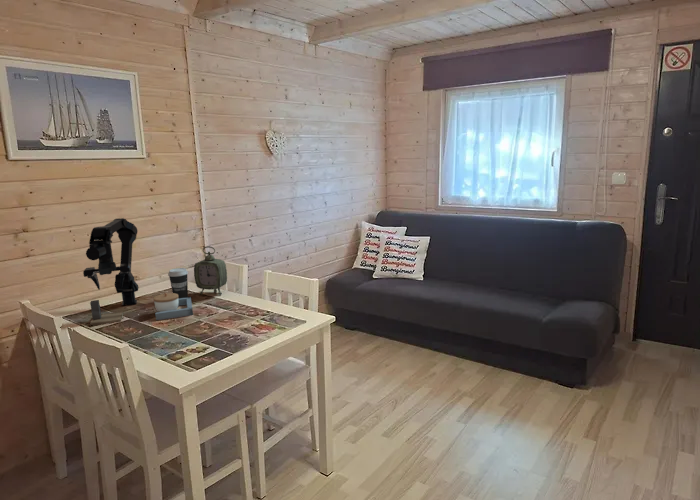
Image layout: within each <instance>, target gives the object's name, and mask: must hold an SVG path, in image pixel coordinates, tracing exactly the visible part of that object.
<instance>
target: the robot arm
mask: <svg viewBox="0 0 700 500" xmlns="http://www.w3.org/2000/svg"><path fill="white" fill-rule="evenodd" d="M138 231H139V230H138V228H137V227H136V225H135V224H134V223H132V222H131V221H128V220H127V219H126V218H124V217H123V218H120V217H119V218H115V219H113V220H112V221H110V222H109V223H107V224H105V225H102V226H96V227H95V226H94V227H93V228H92V230H91V232H90V235H89V236H90V237H89V242H88V244H89V245H88V246H89V247H88V248H87V249H86V251H85V256H86V258H87V259H89V260H90V261H98V264H97V265H98V266H97V267H98V268H95V266H92V267H91V266H90V267H86V268H84V270H83V271H82V274H83V277H85V278H87V279H90V280H92V281H93V283H94V284H95V286H96V288H97V289H98V290H99V291H100V289H101V285H100V282H99V281H100V280H99V277H98V274H99V275H100V276H103V275H104V276H105V275H111V274H112V272H117V271H119V272H118V274H115V277H114V278H115V279H114V280H115V281H114V289H115V290H116V293H117V294H121V297H122V303H121V306H122V305H125V306H132V305H136V304H137V302H138V299H136V294H135V293H136V292H138V291H139V284H138V283H137V282H136V281H135V276H134V275H133V272H132V258H133V257H132V255H133V243H134V242H135V240H136V239H137V235H138ZM114 233H117V236H118V237H117V238H118V239H119V241H120V243H121V250H120V266H117V264H116V262H114V256H113V251H112V243H113V240H111V239H112V238H113V236H114Z"/></svg>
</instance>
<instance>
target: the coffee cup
mask: <svg viewBox="0 0 700 500" xmlns="http://www.w3.org/2000/svg"><path fill="white" fill-rule="evenodd" d="M188 274H189V271H188V270H187V268H184V267H178V268H177V267H176V268H172V269H169V271H168V273H167V276H168V277H169V278H168V279H169V282H170V286H171V291H172V293H176V294H178V296H179V297H178V298H179V299H180V298H187V297H189V295H188V294H189V292H188V291H189V289H188V288H189V287H188V286H189V285H188Z"/></svg>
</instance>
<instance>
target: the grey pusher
mask: <svg viewBox="0 0 700 500" xmlns="http://www.w3.org/2000/svg"><path fill="white" fill-rule="evenodd" d="M99 300H100V299H94V300H90V303H89V304H90V309H91V310H90V311H91V316H92V318H91V321H90V323H89V326H90V327H92V326H91V325H95V326H102V325H107V324H106V323H109V324H114V322H116V323H120V322H122V319H123V316H124V311H123V310H121V311H115V312H114V311H113V312H105V313H101V312H102V311H101V307H100V301H99ZM101 324H102V325H101Z"/></svg>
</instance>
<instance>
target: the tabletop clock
mask: <svg viewBox="0 0 700 500" xmlns="http://www.w3.org/2000/svg"><path fill="white" fill-rule="evenodd" d="M208 248H209V249H212V250H213V252H210V251H207V252H205V251H204V250H205V249H208ZM202 252H203V254H205V256H204V259H203V260H202V259H201V261H200V260H199V261H198V262H196V263H194V267H193V271H194V272H193V277H194V282H195V285H196V287H197V288H198V289H201V291H199V294H200V295H203V293H204V290H213V292H214V293H217V290H218V296H222V292H221V290H220V288H221V287H223V286H225V285H227V282H228V272H227V271H228V270H227V264H226V261H224V260H223V259H220V258H219V259H218V258H215V256H214V255H213V254H215V253H216V249H215V247H213V246H209V245H207V246H204V247H203V248H202Z"/></svg>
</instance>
